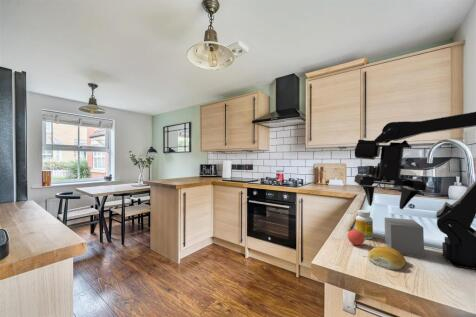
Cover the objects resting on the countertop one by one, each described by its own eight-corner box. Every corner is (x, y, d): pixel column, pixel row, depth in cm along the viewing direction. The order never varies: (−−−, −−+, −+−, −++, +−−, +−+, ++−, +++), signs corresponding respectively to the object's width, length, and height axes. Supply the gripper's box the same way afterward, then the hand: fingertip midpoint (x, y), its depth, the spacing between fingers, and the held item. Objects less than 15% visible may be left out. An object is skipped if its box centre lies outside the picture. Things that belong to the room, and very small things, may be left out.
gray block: (414, 246, 64) (413, 219, 64) (424, 257, 57) (423, 227, 57) (385, 243, 68) (384, 217, 68) (391, 252, 61) (390, 224, 61)
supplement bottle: (360, 233, 77) (359, 208, 77) (375, 237, 73) (375, 211, 73) (353, 236, 74) (352, 210, 74) (369, 240, 70) (368, 213, 70)
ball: (363, 242, 68) (363, 228, 68) (366, 248, 64) (365, 233, 64) (347, 240, 70) (346, 226, 70) (348, 246, 66) (347, 231, 66)
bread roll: (408, 262, 56) (407, 248, 56) (400, 274, 50) (399, 258, 50) (374, 252, 62) (373, 239, 62) (363, 262, 56) (363, 248, 56)
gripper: (408, 161, 71) (402, 203, 72) (351, 157, 75) (347, 197, 76) (431, 164, 60) (424, 214, 61) (363, 159, 64) (358, 206, 65)
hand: (385, 207), depth 66 cm, fingers open, 9 cm apart
